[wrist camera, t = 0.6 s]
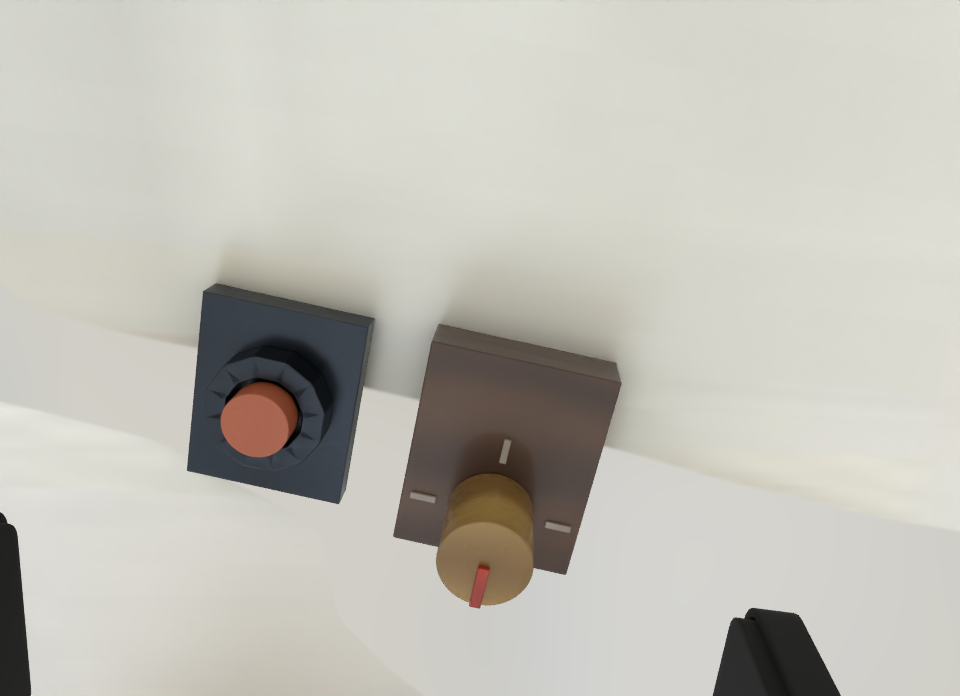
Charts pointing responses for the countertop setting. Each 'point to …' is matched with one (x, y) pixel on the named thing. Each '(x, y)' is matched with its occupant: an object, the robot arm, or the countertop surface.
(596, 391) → the panel
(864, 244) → the countertop surface
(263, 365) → the button block
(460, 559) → the knob
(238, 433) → the button
